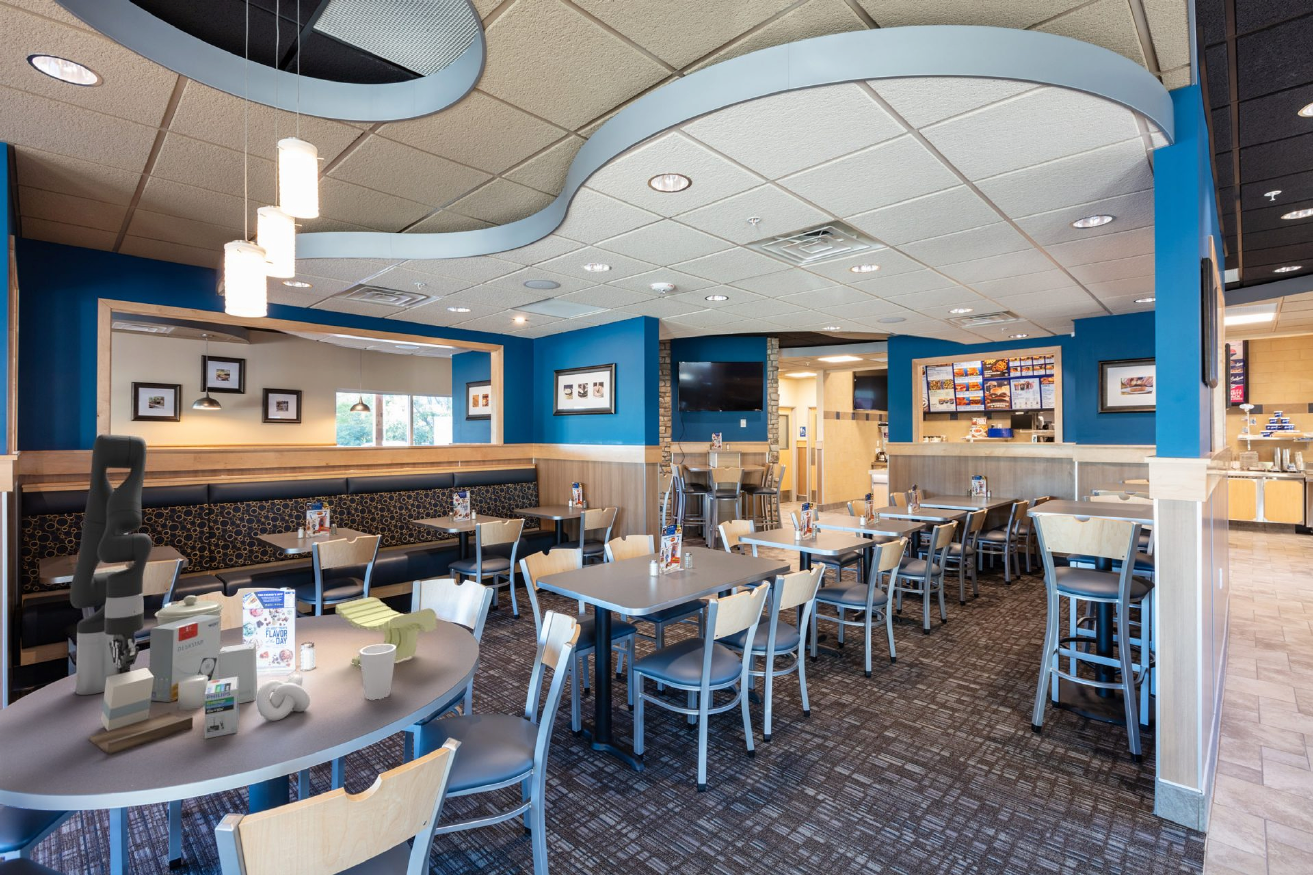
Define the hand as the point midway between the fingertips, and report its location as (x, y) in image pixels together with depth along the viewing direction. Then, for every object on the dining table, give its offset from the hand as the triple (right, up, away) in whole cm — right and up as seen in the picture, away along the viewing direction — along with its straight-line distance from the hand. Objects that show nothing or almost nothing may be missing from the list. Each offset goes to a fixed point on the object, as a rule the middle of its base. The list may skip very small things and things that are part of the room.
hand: (123, 681), depth 157 cm
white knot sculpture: (+38, -11, +5) cm, 40 cm away
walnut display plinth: (+10, -10, -7) cm, 16 cm away
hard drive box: (+1, -11, +19) cm, 22 cm away
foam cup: (+57, -11, +17) cm, 61 cm away
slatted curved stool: (+46, -11, +46) cm, 66 cm away
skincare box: (+20, -11, +13) cm, 26 cm away
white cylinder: (+10, -11, +10) cm, 18 cm away
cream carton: (+1, -10, -1) cm, 10 cm away
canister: (-18, -11, +46) cm, 50 cm away
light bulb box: (+28, -11, -4) cm, 30 cm away
